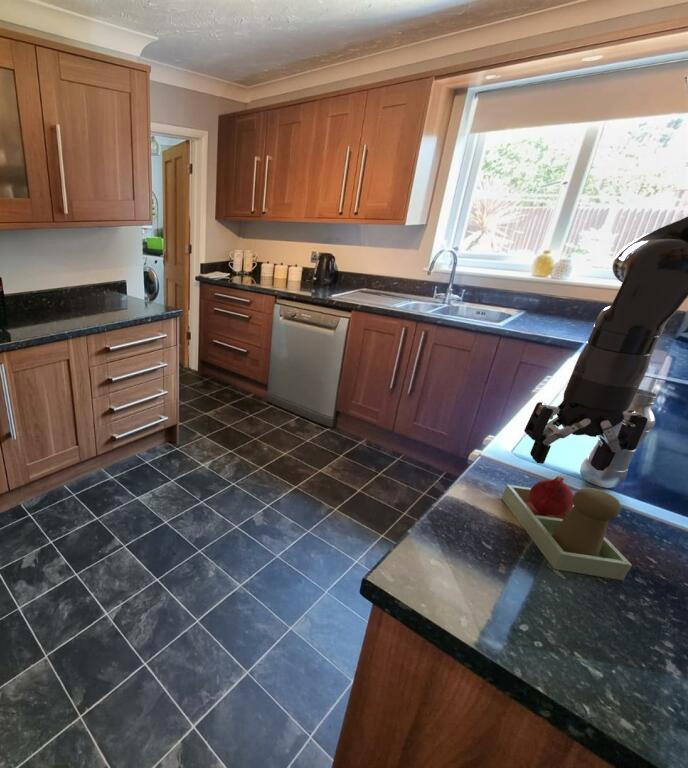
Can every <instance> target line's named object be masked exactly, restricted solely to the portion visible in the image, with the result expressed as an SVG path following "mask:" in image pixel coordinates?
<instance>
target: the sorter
mask: <svg viewBox="0 0 688 768" xmlns="http://www.w3.org/2000/svg"><path fill="white" fill-rule="evenodd" d="M531 488H532V487H528V486H527V487H526V486H520V485H512V484H506V486H505V488H504V491H503V493H502V495H501V499H502V501H503V502H504V504H505V505H506V506H507V508H508V509H509V510H510V512H511V513H512V514H513V516H514V517H515V518H516V520H517V521H518V522H519V524H520V526H522V528H523V529H524V531H525V532H526V533H527V535H529V537H530V539H531V540H532V541H533V543H534V545H536V547H537V548H538V550H539V551H540V552H541V554H542V555H543V557H544V558H545V559H546V560H547V562H548V563H549V564H550V566H551V567H552V568H553V569H554V570H558V571H563V572H564V571H565V572H570V573H577V574H582V575H587V576H588V575H589V576H593V577H598V578H599V577H601V578H606V579H611V580H617V581H624V579H625V578H626V577H627V574H628V573H629V571H630V570H631V568H632V566H633V565H632V563H631V562H630V560H628V559H627V558H626V557H625V556H624V555H623V554H622V553H621V551H619V550H618V549H617V548H616V546H614V544H613V543H612V542H610V540H609V539H608V538H607V537H606V535H605V536H604V539H603V543H602V546H601V549H600V553H599V556H598V557H595V556H589V555H583V554H576V553H570V552H564V551H563V550H562V548H561V547H560V546H559V545H558V543H557V542H556V541H555V540H554V538H553V537H552V536H551V535H552V534H553V532H554V531H555V530H556V528H557V527H558V526H559V524H560V523H561V522H562V521H563V519H564V518H565V517H566V515H567V514H568V513H569V512H570V510H571V509H572V508H573V506H574V505H573V506H572V508H571V509H570V510H569V511H568V512H567V513H564V514H561V515H557V516H550V515H542V514H541V513H540V512H539V511H537V510H536V509H535V508H534V506H533V505H532V503H531V502H530V498H529V493H530V489H531Z"/></svg>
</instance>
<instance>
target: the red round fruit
mask: <svg viewBox="0 0 688 768" xmlns="http://www.w3.org/2000/svg"><path fill="white" fill-rule="evenodd" d="M564 481H565V478H564V477H563V476H562V475H556V476H555V477H554V478H549V479H542V480H539V481H537V482H536V483H535V484H534V485H532V486H531V487H530V488H531V489H530V493H529V498H530V502H531V503H532V505H533V506H534V508H535V509H536V510H537V511H539V512H540V513H541V514H542V515H550V516H557V515H561V514H564V513H567V512H568V511H569V510H570V509H571V508H572V506H573V502H572V499H573V496H574V493H573V491H572V489H571V488H570V487H569V485H567V484H566V483H565V482H564Z"/></svg>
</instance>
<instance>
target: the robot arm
mask: <svg viewBox="0 0 688 768" xmlns="http://www.w3.org/2000/svg"><path fill="white" fill-rule="evenodd" d="M611 268H612V273H613V275H614V277H615V278H616V279H617V280H618V281H619V282H620V283H621V285H620V287H619V289H618V291H617V293H616V295H615V297H614V299H613V301H612V303H611V305H609V306H607V307H605V308H604V309H602V310H601V311H600V313H598V316H597V317H596V319H595V322H594V323H593V324H594V325H593V327H592V328H591V331H590V334H589V336H588V339H587V341H586V343H585V345H584V347H583V348H582V350H581V351H580V354H579V356H578V358H577V359H576V363H575V365H574V367H573V370H572V372H571V375H570V377H569V380H568V382H567V384H566V387H565V389H564V392H563V399H562V402H561V403H560V404H558V405H557V406H556V405H548V404H546V403H545V402H543V401H539V402H537V403H536V404H535V405H534V408H533V411H532V412H531V415H530V417H529V420H528V421H527V424H526V425H525V428H524V430H523V431H524V433H525V434H526V435H527V436H528V437H529V438H530V439H531V440H532V441H534V442H533V445H532V447H531V449H530V452H529V454H530V456H531V458H532V459H533V460H534V462H536V464H540V465H543V464H545V461H546V459H547V457H548V454H549V452H550V449H551V448H552V445H551V444H553V443H555V442H557V441H558V440H560V439H565V438H567V437H569V436H570V435H572V436H588V437H592V438H598V439H600V441H601V443H602V445H598V447H597V450H596V452H595V454H594V456H593V458H592V460H591V465H592V466H593V467H594V468H595V469H596V470H600V471H604V470H605V468H607V467H608V466H610V464H611V462H612V460H613V458H614V456H615V453H616V452H619V451H620V450H624V449H627V450H629V451H632V450H634V449H636V450H637V448H636V447H637V444H638V442H639V440H640V437H641V435H642V433H643V430H644V428H645V425H646V423H647V421H648V419H647V418H646V417H644V416H643V415H641V414H640V413H638V412H636V411H634V410H630V411H628V412H624V411H626V410H628V409H629V407H630V405H631V403H632V400H633V398H634V396H635V394H636V392H637V390H638V389H640V386H641V384H642V381H643V380H644V378H645V376H646V374H647V372H648V368H649V366H650V362H651V358H652V355H653V353H654V351H655V349H656V347H657V345H658V343H659V340H660V338H661V336H662V334H663V332H664V330H665V326H666V325H667V323H668V322H669V321H670V319H671V318H672V317H673V316H674V315H675V314H676V313H677V312H678V310H679V309H680V308H681V306H682V305H683V304H684V302H685V301H686V300H687V299H688V216H685V217H682V218H681V219H678V220H676V221H674V222H670V223H668V224H667V225H664V226H661V227H660V228H657V229H655V230H652V231H651V232H648V233H646V234H644V235H642V236H640V237H639V238H636V239H635V240H633V241H632V242H630V243H628V244H627V245H626V246H624V247H623V248H622V249H621V250H620V251H619V252H618V253H617V254H616V256H615V257H614V259H613V262H612V267H611ZM554 416H556V417H555V418H554ZM621 422H622V426H621V428H620V431H619V433H618V436H616V434H615V432H614V430H613V429H612V428H613V427H614V426H616V425H617V424H619V423H621ZM560 426H562V427H563V428H559V427H560Z"/></svg>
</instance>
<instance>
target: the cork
mask: <svg viewBox="0 0 688 768" xmlns="http://www.w3.org/2000/svg"><path fill="white" fill-rule="evenodd" d="M573 495H574V496H573V499H572V502H573V505H574V506H573V508H572V509H571V510H570V512H569V513H568V514H567V515H566V517H565V518H564V519H563V521H562V522H561V523H560V524H559V526H558V527H557V528H556V530H555V531H554V532H553V534H552V535H551V536H552V537H553V538H554V540H555V541H556V542H557V543H558V545H559V546H560V547H561V548H562V550H563V551H564V552H570V553H576V554H583V555H589V556H595V557H598V556H599V553H600V549H601V546H602V543H603V539H604V536H605V537H606V532H607V530H608V526H609V523H610V521H611V520H614V519H616V518H617V517H618V516H619V515H620V513H621V510H622V506H621V503H620V500H618V499H617V498H616V497H615V496H613V495H612V494H610V493H609V492H606V491H604V490H601V489H598V488H593V487H581V488H580V489H577V490H576V491H575V492H574V493H573Z"/></svg>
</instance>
